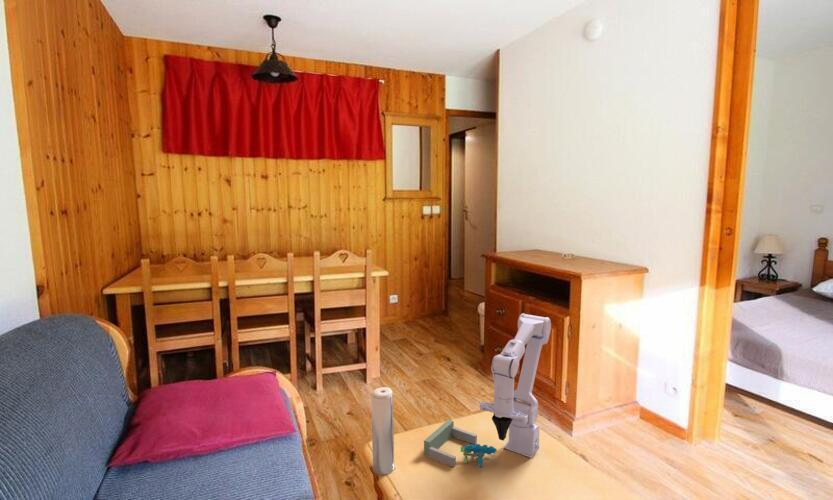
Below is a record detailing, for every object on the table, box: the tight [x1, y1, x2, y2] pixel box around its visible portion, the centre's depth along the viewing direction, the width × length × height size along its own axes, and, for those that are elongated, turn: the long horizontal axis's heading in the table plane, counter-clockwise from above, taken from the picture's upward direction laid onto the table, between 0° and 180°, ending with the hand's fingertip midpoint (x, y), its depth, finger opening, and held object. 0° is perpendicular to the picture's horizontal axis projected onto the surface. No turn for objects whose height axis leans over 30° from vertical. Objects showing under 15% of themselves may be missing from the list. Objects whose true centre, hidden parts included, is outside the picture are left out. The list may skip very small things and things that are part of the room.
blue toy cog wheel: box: [460, 443, 497, 468], centre depth 131 cm, size 11×6×10 cm
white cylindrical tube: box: [370, 386, 395, 476], centre depth 127 cm, size 6×6×25 cm
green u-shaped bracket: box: [423, 419, 478, 468], centre depth 138 cm, size 11×15×5 cm
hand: (502, 438), depth 127 cm, fingers closed
